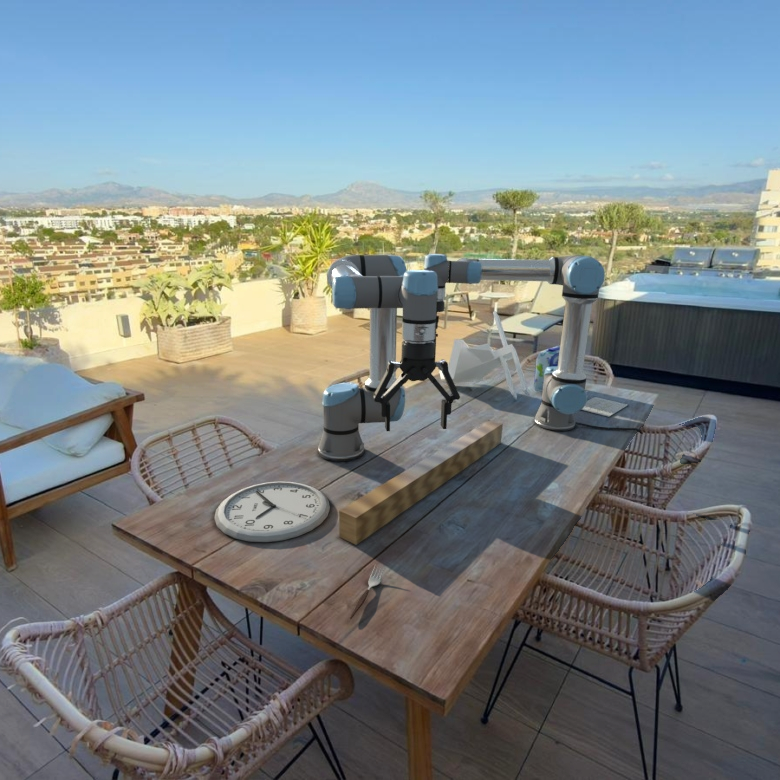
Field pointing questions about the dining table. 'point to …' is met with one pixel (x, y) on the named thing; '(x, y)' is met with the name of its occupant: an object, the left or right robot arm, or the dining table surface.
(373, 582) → the fork
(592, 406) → the invitation card
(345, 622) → the dining table surface
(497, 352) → the white plastic object
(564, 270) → the right robot arm
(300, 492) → the wall clock
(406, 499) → the bar
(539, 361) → the lunch box
